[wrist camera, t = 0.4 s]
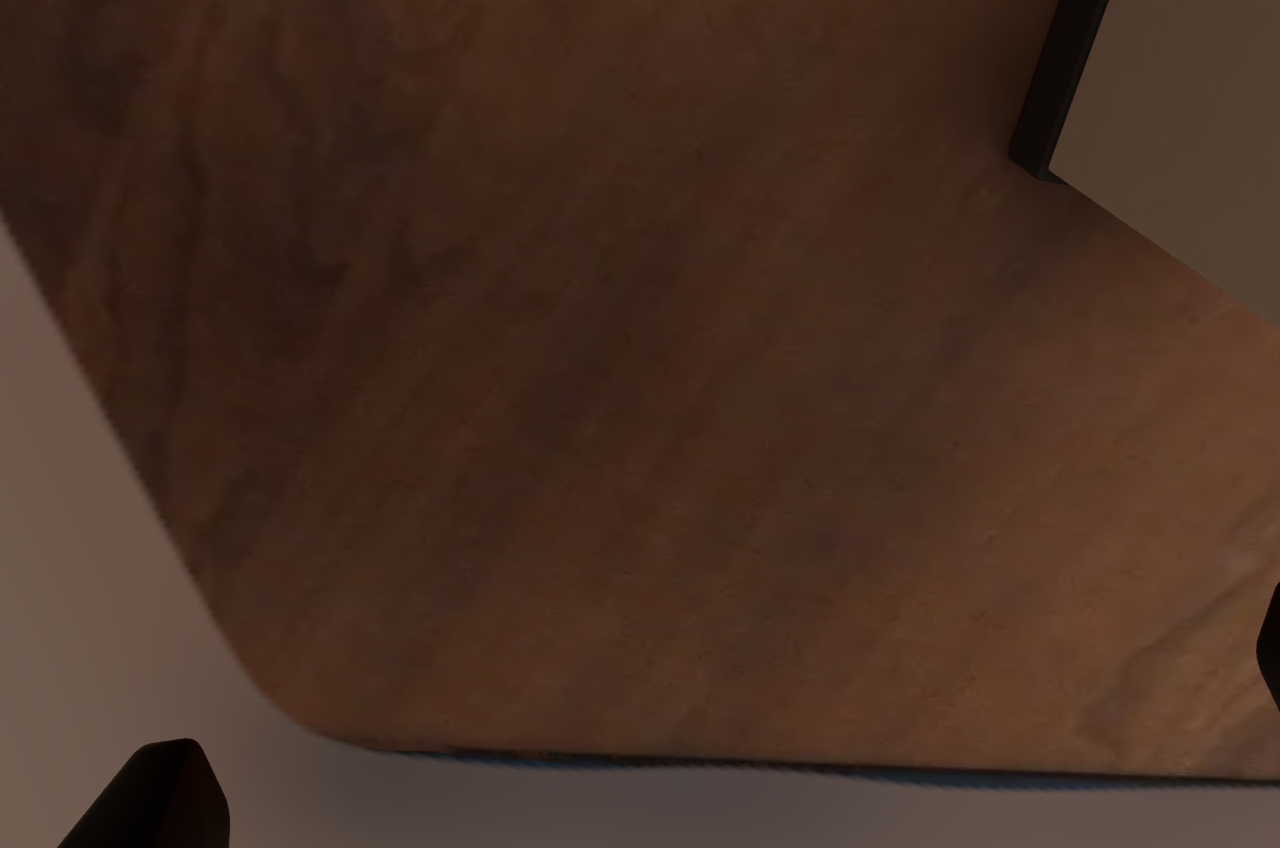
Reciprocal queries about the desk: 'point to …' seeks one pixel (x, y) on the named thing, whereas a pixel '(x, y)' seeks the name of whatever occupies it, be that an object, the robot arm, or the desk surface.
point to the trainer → (1169, 129)
